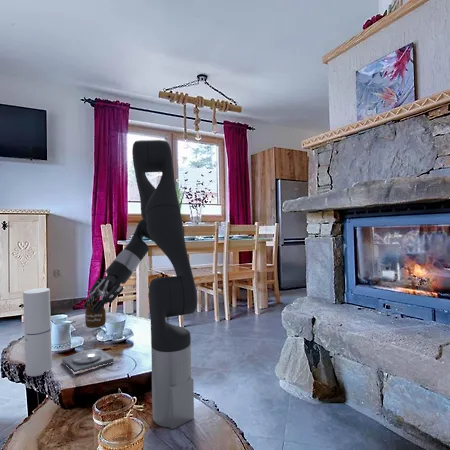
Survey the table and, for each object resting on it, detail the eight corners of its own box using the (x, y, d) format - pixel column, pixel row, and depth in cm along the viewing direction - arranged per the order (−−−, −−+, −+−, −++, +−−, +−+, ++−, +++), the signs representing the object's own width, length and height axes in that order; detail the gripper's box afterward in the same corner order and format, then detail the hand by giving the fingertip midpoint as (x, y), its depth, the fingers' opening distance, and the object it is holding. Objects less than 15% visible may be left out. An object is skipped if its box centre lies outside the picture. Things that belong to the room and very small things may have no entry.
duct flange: (113, 362, 108) (113, 355, 108) (75, 375, 100) (74, 366, 100) (98, 351, 117) (98, 344, 117) (62, 362, 109) (62, 354, 109)
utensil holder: (88, 322, 108) (87, 285, 107) (108, 321, 109) (107, 284, 108) (82, 328, 102) (81, 290, 101) (104, 328, 103) (102, 289, 102)
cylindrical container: (40, 377, 100) (38, 293, 99) (20, 375, 101) (17, 292, 100) (57, 366, 106) (54, 288, 106) (37, 364, 108) (35, 287, 107)
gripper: (105, 257, 115) (71, 299, 107) (127, 261, 105) (91, 308, 97) (119, 270, 119) (87, 311, 111) (142, 275, 109) (109, 321, 101)
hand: (89, 309), depth 104 cm, fingers closed on utensil holder, 5 cm apart
